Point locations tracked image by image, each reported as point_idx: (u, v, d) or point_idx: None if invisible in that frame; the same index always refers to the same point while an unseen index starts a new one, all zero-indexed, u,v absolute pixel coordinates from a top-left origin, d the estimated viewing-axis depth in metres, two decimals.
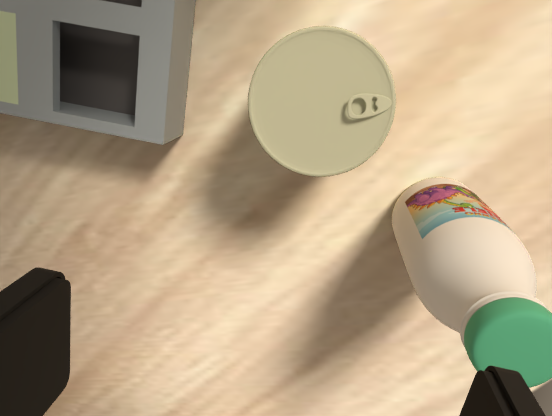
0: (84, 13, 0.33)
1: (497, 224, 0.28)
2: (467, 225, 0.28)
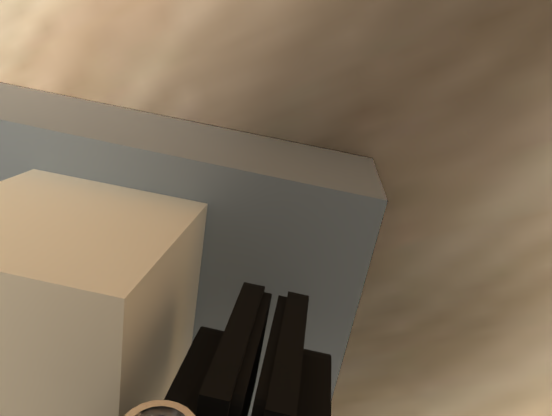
0: None
1: None
2: None
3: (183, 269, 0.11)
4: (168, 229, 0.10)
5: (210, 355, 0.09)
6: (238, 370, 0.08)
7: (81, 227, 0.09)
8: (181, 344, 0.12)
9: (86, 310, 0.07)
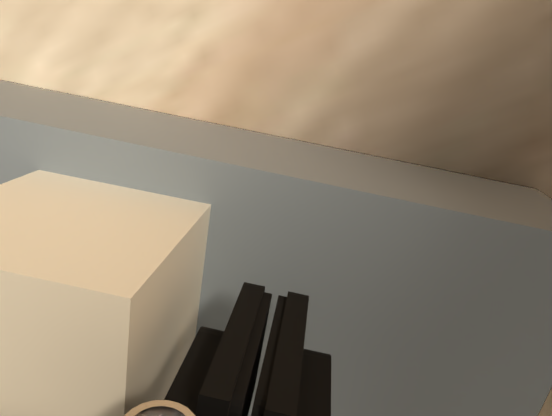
0: None
1: None
2: None
3: (187, 269, 0.11)
4: (172, 230, 0.10)
5: (211, 355, 0.09)
6: (238, 370, 0.08)
7: (87, 227, 0.10)
8: (184, 343, 0.12)
9: (93, 310, 0.08)
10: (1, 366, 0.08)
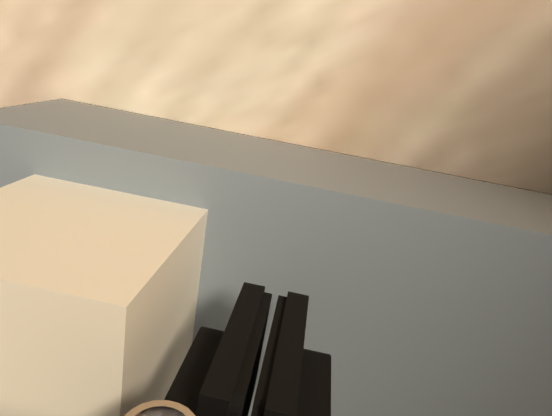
0: None
1: None
2: None
3: (183, 275, 0.11)
4: (169, 236, 0.10)
5: (211, 355, 0.09)
6: (238, 370, 0.08)
7: (82, 234, 0.09)
8: (181, 349, 0.12)
9: (88, 318, 0.07)
10: None
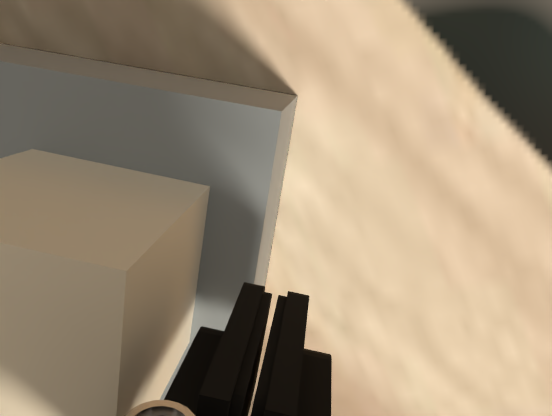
0: None
1: None
2: None
3: None
4: (165, 379, 0.11)
5: (211, 355, 0.09)
6: (238, 370, 0.08)
7: (160, 344, 0.10)
8: None
9: None
10: (8, 371, 0.08)
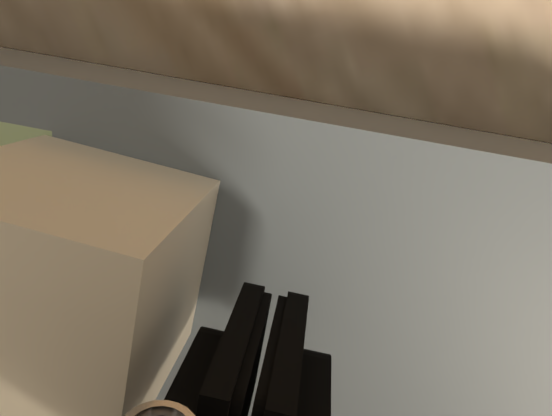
0: None
1: None
2: None
3: None
4: (167, 369, 0.11)
5: (210, 355, 0.09)
6: (238, 370, 0.08)
7: (166, 334, 0.10)
8: None
9: None
10: (18, 353, 0.08)
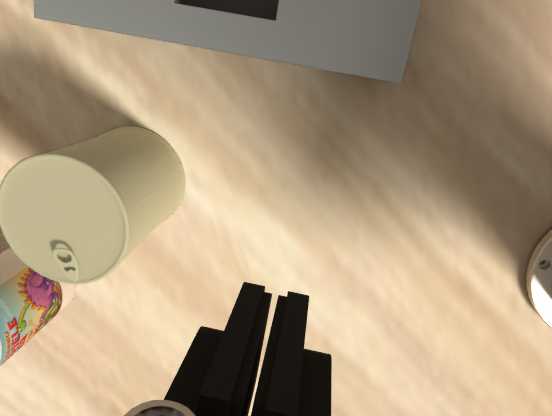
0: None
1: None
2: None
3: None
4: None
5: (210, 355, 0.09)
6: (238, 370, 0.08)
7: None
8: None
9: None
10: None
